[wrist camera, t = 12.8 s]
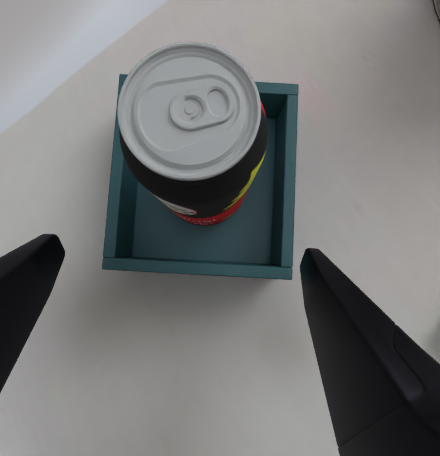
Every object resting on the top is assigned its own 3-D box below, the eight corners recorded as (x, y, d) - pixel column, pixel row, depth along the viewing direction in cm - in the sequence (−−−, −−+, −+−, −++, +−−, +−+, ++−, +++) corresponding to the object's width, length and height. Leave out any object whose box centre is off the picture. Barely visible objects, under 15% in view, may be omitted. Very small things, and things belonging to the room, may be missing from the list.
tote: (278, 274, 21) (292, 280, 17) (123, 265, 21) (101, 269, 17) (284, 114, 22) (298, 84, 18) (137, 105, 22) (119, 73, 18)
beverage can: (157, 161, 21) (81, 50, 9) (232, 141, 22) (249, 7, 10) (178, 236, 21) (124, 218, 9) (253, 214, 21) (300, 168, 9)
